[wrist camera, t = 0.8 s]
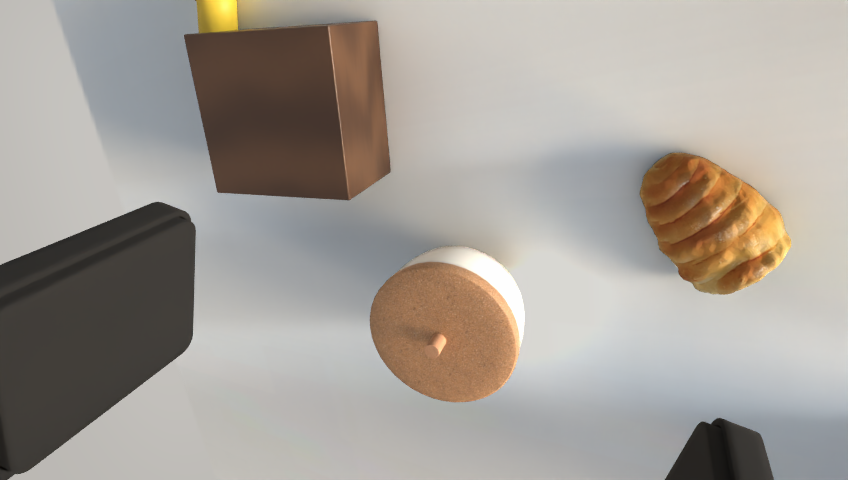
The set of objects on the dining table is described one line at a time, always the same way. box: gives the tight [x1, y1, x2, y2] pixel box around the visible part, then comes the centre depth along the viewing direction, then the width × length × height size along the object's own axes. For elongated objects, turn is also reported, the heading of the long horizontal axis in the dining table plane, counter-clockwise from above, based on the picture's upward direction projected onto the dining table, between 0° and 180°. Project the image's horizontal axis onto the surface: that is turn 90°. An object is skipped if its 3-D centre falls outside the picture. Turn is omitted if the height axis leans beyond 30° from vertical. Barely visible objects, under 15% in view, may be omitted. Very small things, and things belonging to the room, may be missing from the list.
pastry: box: [640, 153, 791, 294], centre depth 35 cm, size 9×7×4 cm
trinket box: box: [370, 246, 525, 402], centre depth 41 cm, size 11×11×9 cm
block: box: [184, 21, 390, 200], centre depth 40 cm, size 11×11×7 cm
